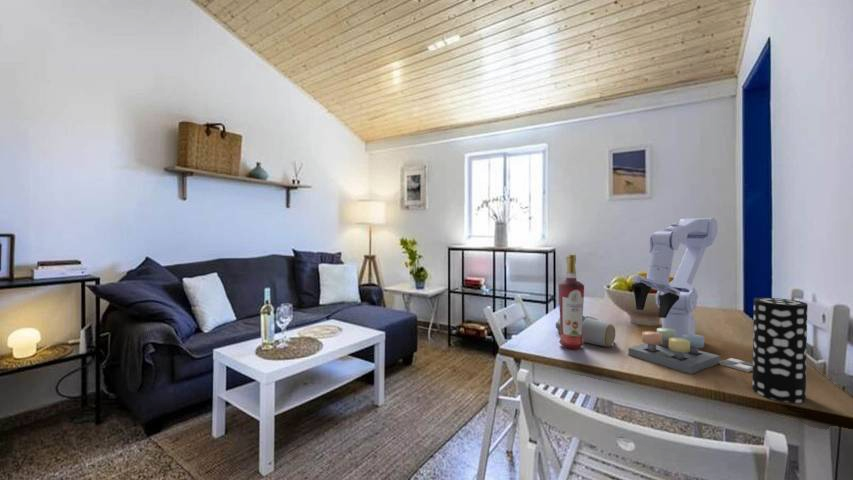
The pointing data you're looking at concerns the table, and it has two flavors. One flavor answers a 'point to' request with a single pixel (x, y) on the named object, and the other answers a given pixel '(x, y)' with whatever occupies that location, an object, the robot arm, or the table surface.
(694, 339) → the button
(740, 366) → the card
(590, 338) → the grey cylinder
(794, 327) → the white-spotted black cylinder
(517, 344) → the table surface
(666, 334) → the button
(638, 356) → the button console
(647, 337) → the button
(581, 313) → the liquor
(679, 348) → the button
